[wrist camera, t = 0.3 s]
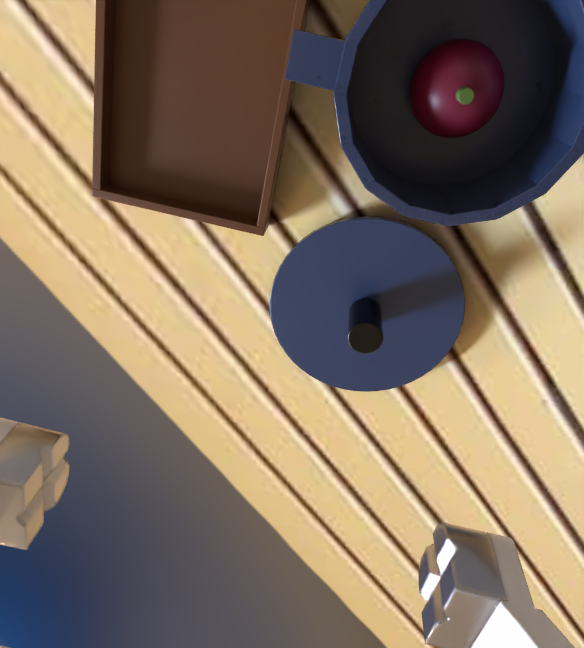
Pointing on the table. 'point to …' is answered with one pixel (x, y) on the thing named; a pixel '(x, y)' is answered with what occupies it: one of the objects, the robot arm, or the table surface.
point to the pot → (468, 151)
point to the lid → (367, 304)
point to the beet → (457, 88)
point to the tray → (193, 105)
